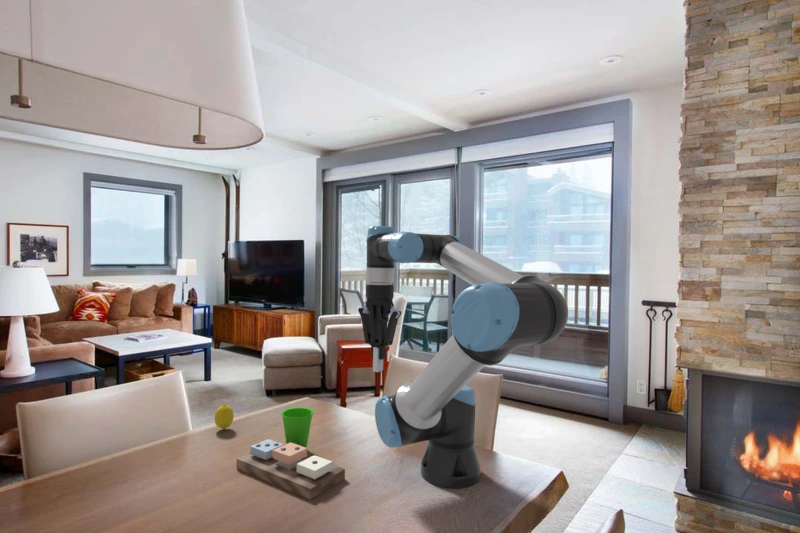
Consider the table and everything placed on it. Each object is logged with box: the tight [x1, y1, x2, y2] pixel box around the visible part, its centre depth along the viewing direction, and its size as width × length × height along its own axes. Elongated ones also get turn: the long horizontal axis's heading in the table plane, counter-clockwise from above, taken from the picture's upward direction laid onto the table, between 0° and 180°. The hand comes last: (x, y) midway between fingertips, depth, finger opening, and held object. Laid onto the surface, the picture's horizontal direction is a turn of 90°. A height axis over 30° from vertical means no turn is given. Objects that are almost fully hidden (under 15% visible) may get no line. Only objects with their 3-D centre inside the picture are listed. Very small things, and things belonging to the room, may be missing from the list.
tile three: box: [249, 438, 285, 461], centre depth 119 cm, size 6×6×5 cm
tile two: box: [273, 442, 308, 470], centre depth 115 cm, size 6×6×5 cm
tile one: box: [297, 455, 333, 480], centre depth 110 cm, size 6×6×5 cm
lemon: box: [214, 403, 234, 431], centre depth 142 cm, size 6×6×8 cm
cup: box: [280, 406, 315, 449], centre depth 128 cm, size 9×9×11 cm
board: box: [236, 452, 346, 501], centre depth 115 cm, size 26×12×2 cm, turn 57°
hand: (377, 370), depth 123 cm, fingers closed
